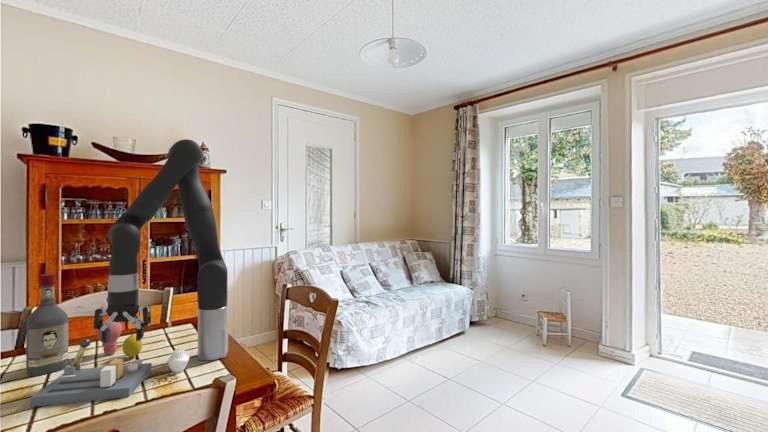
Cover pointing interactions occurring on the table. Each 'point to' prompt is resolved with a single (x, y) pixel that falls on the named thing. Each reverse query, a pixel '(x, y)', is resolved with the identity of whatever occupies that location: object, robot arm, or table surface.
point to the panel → (90, 385)
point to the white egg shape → (178, 360)
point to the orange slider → (117, 367)
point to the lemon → (132, 346)
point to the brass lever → (81, 352)
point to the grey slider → (107, 376)
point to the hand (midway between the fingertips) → (122, 341)
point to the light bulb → (111, 337)
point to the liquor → (46, 333)
